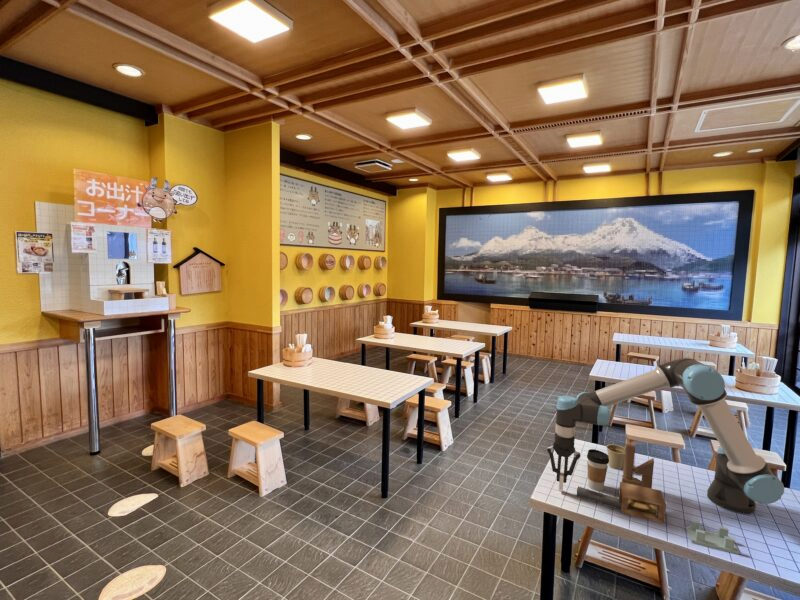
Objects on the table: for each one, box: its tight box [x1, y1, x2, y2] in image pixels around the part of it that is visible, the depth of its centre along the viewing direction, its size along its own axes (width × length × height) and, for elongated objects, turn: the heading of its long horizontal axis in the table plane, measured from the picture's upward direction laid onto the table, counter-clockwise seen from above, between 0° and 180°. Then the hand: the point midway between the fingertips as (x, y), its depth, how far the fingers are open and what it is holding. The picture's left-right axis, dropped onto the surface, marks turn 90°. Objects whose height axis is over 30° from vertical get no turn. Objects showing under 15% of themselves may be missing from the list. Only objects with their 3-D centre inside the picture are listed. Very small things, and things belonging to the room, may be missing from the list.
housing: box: [618, 481, 667, 524], centre depth 154 cm, size 14×9×8 cm
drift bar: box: [576, 485, 622, 511], centre depth 159 cm, size 17×3×3 cm, turn 58°
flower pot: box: [605, 444, 625, 470], centre depth 188 cm, size 9×9×9 cm
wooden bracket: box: [621, 443, 655, 489], centre depth 169 cm, size 4×11×18 cm, turn 60°
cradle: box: [685, 519, 740, 555], centre depth 138 cm, size 13×8×4 cm, turn 67°
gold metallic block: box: [628, 499, 658, 515], centre depth 154 cm, size 10×5×5 cm, turn 67°
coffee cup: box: [586, 448, 609, 492], centre depth 169 cm, size 8×8×15 cm
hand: (560, 488), depth 165 cm, fingers closed
